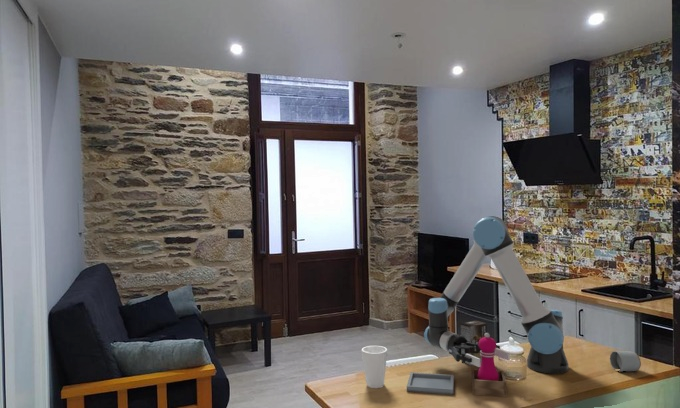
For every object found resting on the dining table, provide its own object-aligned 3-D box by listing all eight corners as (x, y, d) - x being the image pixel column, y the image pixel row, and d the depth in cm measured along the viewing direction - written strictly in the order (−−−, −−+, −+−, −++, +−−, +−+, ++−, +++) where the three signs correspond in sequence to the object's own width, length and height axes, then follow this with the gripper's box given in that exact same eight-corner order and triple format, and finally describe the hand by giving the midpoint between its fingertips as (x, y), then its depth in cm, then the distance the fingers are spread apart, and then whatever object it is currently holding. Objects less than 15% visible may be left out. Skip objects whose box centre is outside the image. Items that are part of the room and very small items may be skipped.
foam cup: (378, 391, 166) (378, 355, 166) (357, 386, 172) (356, 350, 172) (392, 383, 173) (391, 348, 173) (371, 378, 179) (370, 344, 179)
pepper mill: (473, 387, 168) (472, 331, 168) (490, 384, 170) (488, 329, 170) (486, 395, 161) (485, 336, 161) (503, 391, 163) (502, 334, 163)
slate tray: (453, 379, 175) (453, 374, 175) (453, 394, 162) (453, 389, 162) (410, 376, 179) (410, 372, 179) (406, 391, 166) (406, 386, 166)
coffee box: (477, 357, 199) (476, 319, 199) (488, 362, 194) (487, 323, 194) (460, 361, 195) (459, 322, 195) (471, 366, 189) (470, 326, 189)
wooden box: (503, 384, 170) (503, 370, 170) (506, 397, 159) (506, 382, 159) (471, 382, 172) (471, 368, 172) (472, 394, 162) (472, 380, 162)
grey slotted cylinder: (643, 373, 177) (642, 353, 177) (622, 374, 176) (621, 354, 176) (624, 364, 187) (623, 345, 187) (604, 365, 187) (603, 346, 187)
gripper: (479, 348, 187) (520, 364, 168) (428, 358, 176) (466, 377, 157) (478, 329, 187) (520, 343, 168) (427, 338, 176) (466, 354, 157)
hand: (494, 359), depth 163 cm, fingers open, 13 cm apart
